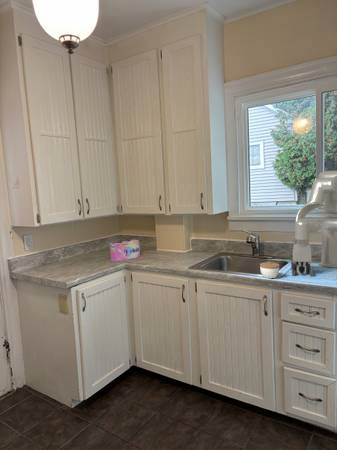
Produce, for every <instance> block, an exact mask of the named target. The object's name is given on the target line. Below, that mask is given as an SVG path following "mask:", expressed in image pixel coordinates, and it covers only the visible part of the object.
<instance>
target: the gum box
mask: <svg viewBox="0 0 337 450" xmlns="http://www.w3.org/2000/svg"><path fill="white" fill-rule="evenodd" d="M140 246H141V245H140V240H139V239H135V238H132V239H126V240H120V241H116V242H110V243H109V251H110V261H112V262H116V263H117V262H121V261H126V260H130V259H135V258H140V257H141V249H140Z"/></svg>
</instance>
